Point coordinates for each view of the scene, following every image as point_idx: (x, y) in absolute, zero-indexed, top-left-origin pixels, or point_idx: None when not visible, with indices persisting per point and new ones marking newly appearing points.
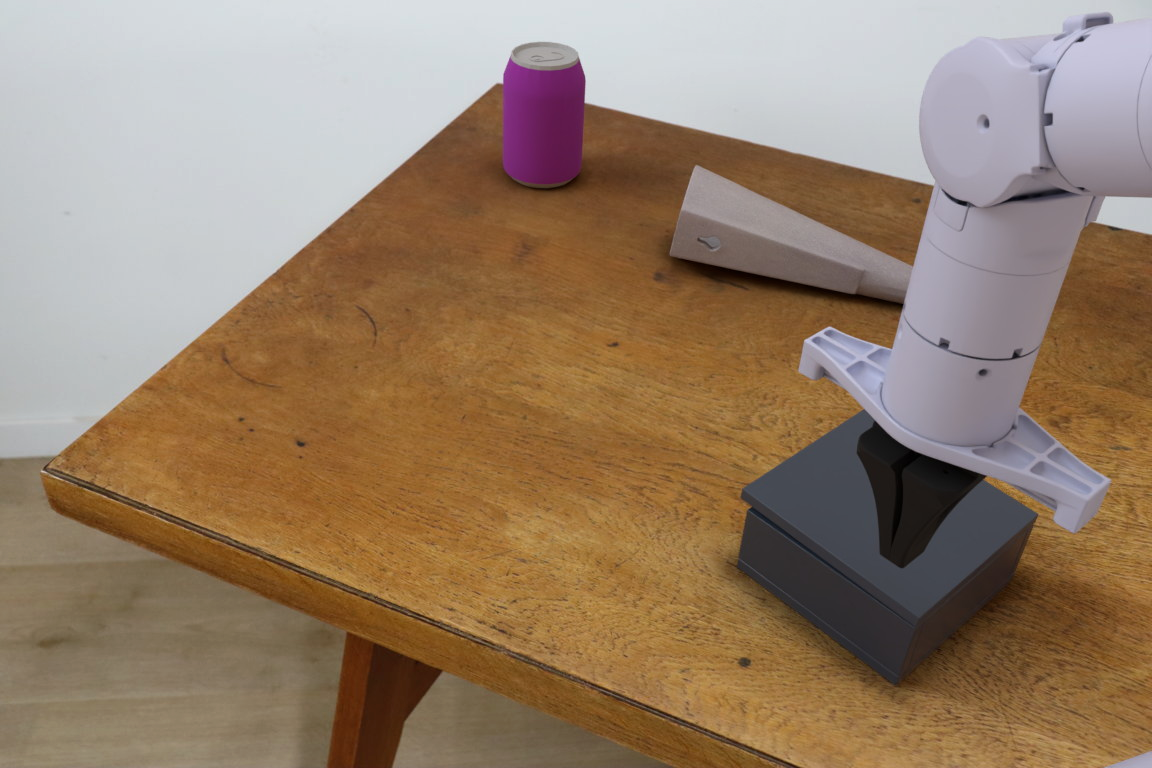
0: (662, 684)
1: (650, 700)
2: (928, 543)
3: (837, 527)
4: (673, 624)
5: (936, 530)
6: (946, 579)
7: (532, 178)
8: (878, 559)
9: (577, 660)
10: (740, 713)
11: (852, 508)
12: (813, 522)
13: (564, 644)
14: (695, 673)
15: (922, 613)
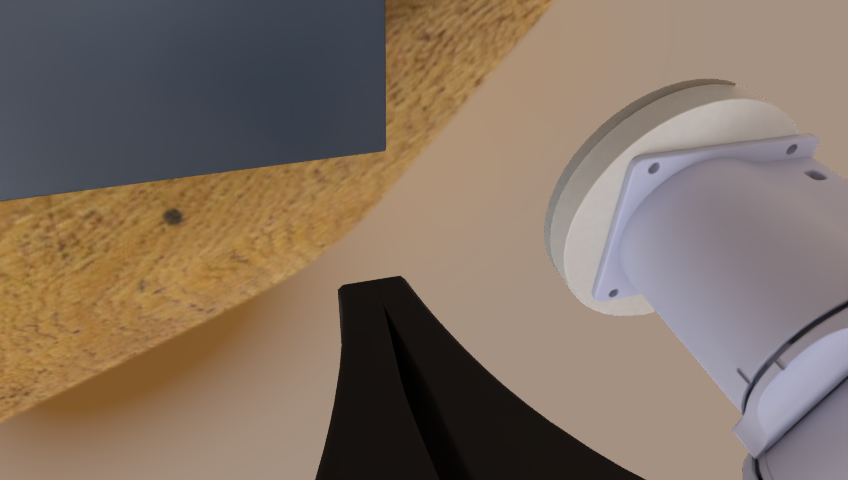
0: (149, 316)
1: (164, 335)
2: (411, 288)
3: (82, 115)
4: (47, 259)
5: (430, 311)
6: (359, 21)
7: None
8: (225, 108)
9: (55, 376)
10: (245, 265)
11: (27, 25)
12: (37, 153)
13: (17, 379)
14: (155, 277)
15: (383, 139)
